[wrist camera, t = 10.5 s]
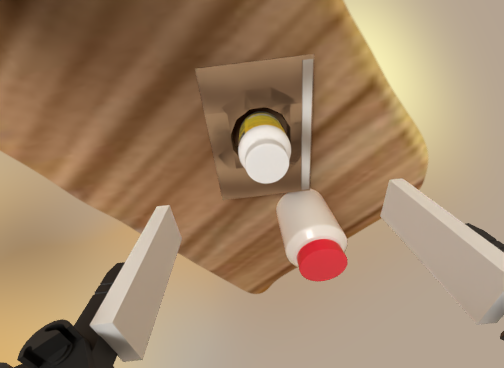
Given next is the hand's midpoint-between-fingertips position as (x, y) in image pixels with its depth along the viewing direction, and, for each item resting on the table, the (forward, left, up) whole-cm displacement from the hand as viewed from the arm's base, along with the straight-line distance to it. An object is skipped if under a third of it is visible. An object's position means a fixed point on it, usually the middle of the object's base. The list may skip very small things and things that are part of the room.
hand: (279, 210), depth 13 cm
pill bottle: (+13, +5, -17) cm, 22 cm away
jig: (0, 0, -17) cm, 17 cm away
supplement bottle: (0, 0, -17) cm, 17 cm away
